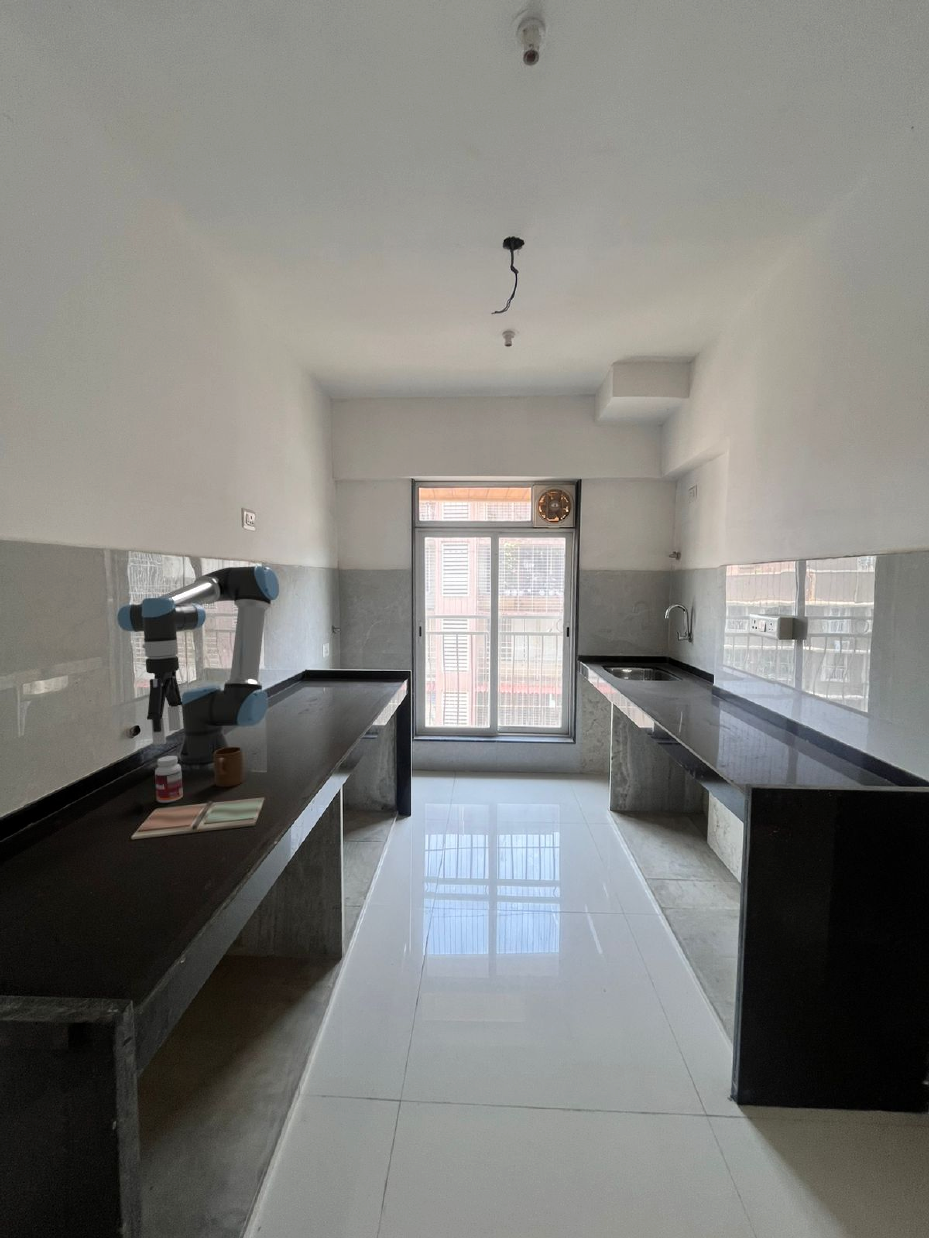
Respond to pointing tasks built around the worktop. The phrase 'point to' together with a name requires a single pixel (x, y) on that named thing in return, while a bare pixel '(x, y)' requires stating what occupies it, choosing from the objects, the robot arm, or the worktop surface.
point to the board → (200, 818)
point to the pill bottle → (168, 779)
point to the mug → (228, 766)
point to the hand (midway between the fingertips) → (167, 736)
